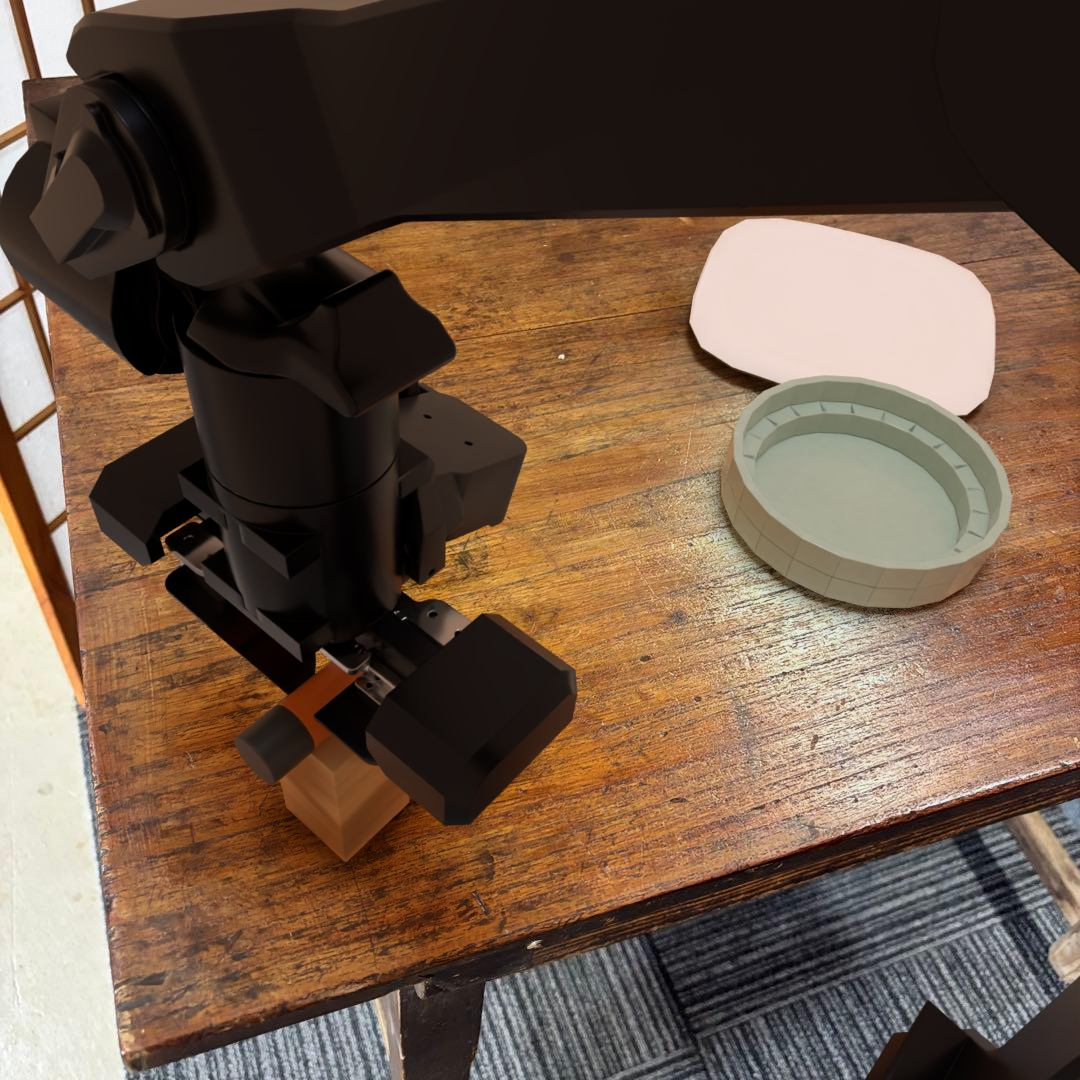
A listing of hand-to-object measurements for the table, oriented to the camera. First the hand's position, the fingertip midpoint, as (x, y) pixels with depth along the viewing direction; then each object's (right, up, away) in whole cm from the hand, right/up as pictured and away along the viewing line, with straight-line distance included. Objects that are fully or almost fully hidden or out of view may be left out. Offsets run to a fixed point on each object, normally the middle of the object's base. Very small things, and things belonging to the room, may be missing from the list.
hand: (338, 722), depth 42 cm
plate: (+31, +23, +34) cm, 52 cm away
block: (-1, -5, +5) cm, 7 cm away
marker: (0, +1, -1) cm, 1 cm away
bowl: (+27, +9, +21) cm, 36 cm away
